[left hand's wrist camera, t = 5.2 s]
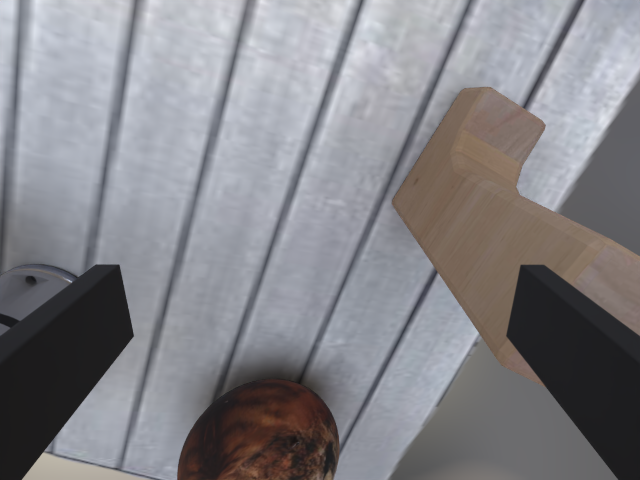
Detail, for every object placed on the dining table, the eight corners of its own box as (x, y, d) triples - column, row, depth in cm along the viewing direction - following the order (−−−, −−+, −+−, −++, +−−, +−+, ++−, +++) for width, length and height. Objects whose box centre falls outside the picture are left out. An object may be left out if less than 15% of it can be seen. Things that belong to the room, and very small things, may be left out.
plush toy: (265, 522, 58) (167, 610, 40) (225, 408, 65) (125, 441, 47) (388, 463, 53) (337, 533, 35) (330, 346, 60) (263, 355, 42)
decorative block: (516, 120, 43) (898, 163, 14) (439, 231, 47) (615, 427, 19) (462, 85, 41) (764, 60, 13) (388, 203, 46) (496, 369, 18)
